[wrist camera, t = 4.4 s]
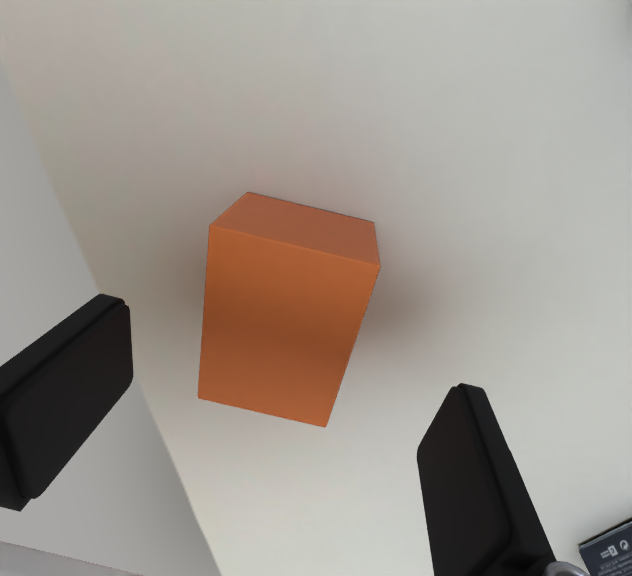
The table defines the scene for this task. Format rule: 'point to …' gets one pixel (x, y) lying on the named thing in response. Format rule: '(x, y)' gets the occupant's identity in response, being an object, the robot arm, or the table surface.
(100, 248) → the table surface
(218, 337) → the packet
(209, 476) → the table surface
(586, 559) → the box
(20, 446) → the robot arm
